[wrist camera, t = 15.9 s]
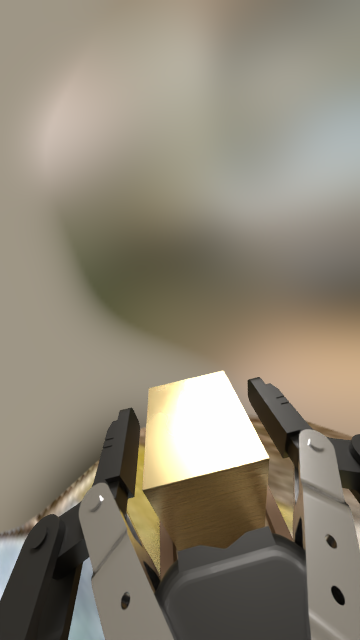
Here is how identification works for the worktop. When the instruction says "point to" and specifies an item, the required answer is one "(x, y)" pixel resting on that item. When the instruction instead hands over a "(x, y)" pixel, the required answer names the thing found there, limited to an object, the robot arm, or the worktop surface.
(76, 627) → the worktop surface
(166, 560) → the balance beam
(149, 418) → the block
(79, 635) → the worktop surface
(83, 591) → the worktop surface
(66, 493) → the worktop surface
